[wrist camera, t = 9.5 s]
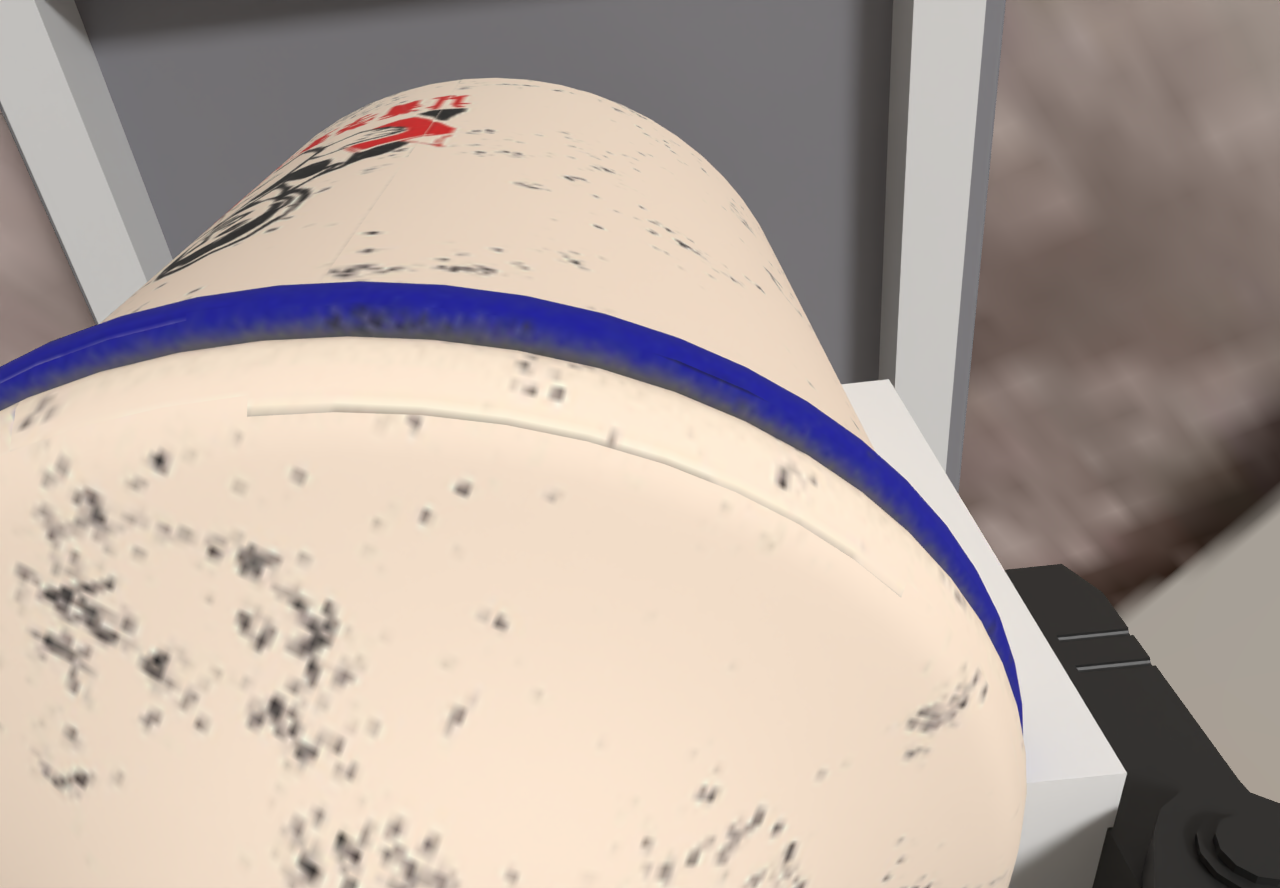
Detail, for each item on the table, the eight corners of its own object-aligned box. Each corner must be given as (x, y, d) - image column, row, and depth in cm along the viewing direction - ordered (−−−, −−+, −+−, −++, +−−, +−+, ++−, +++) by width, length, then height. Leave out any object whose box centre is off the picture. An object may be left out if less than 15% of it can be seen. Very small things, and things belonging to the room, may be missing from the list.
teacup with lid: (383, -105, 11) (-1405, -93, 1) (924, 286, 14) (1731, 1239, 4) (70, 556, 16) (-798, 1661, 6) (522, 744, 19) (445, 1695, 9)
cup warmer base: (263, 648, 25) (235, 711, 23) (-214, -477, 13) (-350, -539, 11) (935, 578, 24) (964, 635, 22) (1039, -635, 13) (1114, -724, 11)
